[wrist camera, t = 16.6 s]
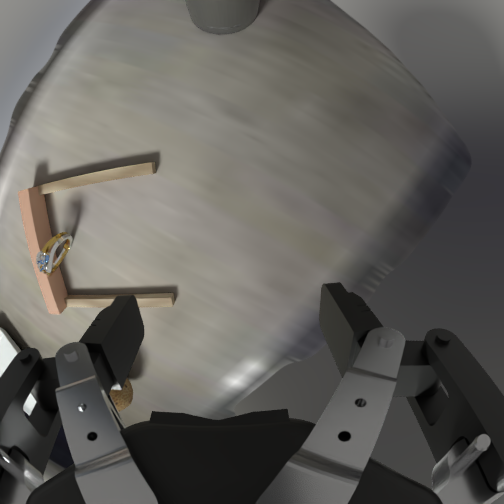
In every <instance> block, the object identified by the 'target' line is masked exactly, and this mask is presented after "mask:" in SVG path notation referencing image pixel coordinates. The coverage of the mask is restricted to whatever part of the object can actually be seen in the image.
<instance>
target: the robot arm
mask: <svg viewBox="0 0 504 504" xmlns="http://www.w3.org/2000/svg"><path fill="white" fill-rule="evenodd" d="M185 2H186V5H187V8H188V10H189V13H190V16H191V19H192V21H193V22H194V24H195V25H196V26H197V27H198V28H200V29H202V30H203V31H206V32H209V33H213V34H230V33H235V32H238V31H240V30H242V29H245V28H246V27H248V26H249V25H250V24H251V23H252V22H253V21H254V20H255V18H256V16H257V13H258V8H259V3H260V0H185ZM319 321H320V327H321V330H322V332H323V335H324V337H325V339H326V341H327V344H328V346H329V348H330V351H331V353H332V355H333V358H334V360H335V362H336V365H337V367H338V369H339V372H340V374H341V376H342V380H341V382H340V384H339V386H338V388H337V390H336V392H335V394H334V395H333V397H332V399H331V401H330V402H329V404H328V406H327V407H326V409H325V411H324V412H323V414H322V416H321V417H320V419H319V421H318V422H317V424H314V423H312V422H308V421H305V420H300V419H294V418H289V415H288V410H287V409H281V410H271V411H260V412H251V413H247V414H243V415H239V416H235V417H231V418H227V419H222V420H212V419H207V418H202V417H198V416H193V415H189V414H185V413H171V412H155V411H152V414H151V418H150V421H144V422H140V423H137V424H134V425H131V426H129V427H127V428H126V426H125V424H124V422H123V420H122V418H121V416H120V414H119V412H118V410H117V408H116V406H115V404H114V402H113V399H112V397H111V396H110V394H109V393H110V391H111V389H115V390H122V389H123V386H124V384H125V381H126V379H127V376H128V374H129V371H130V369H131V367H132V364H133V362H134V359H135V357H136V355H137V352H138V350H139V347H140V345H141V343H142V340H143V338H144V325H143V321H142V318H141V314H140V310H139V307H138V303H137V299H136V297H135V296H134V295H118V296H117V297H116V298H115V299H114V301H113V302H112V303H111V305H110V306H108V307H106V308H105V309H103V310H102V311H101V312H100V313H99V314H98V315H97V317H96V318H95V320H94V321H93V322H92V324H91V326H89V328H88V329H87V331H86V332H85V334H84V335H83V336H82V338H81V339H80V341H79V342H73V343H69V344H66V345H64V346H63V347H61V348H60V349H59V350H58V351H57V353H56V356H55V357H52V358H44V359H43V358H42V357H41V355H40V353H39V351H38V350H37V349H35V348H27V349H24V350H22V351H20V352H19V353H18V354H17V355H16V356H15V357H14V359H13V360H12V361H11V363H10V364H9V365H8V367H7V368H6V370H5V371H4V373H3V374H2V376H1V377H0V504H490V503H492V502H493V501H495V500H496V499H497V498H499V497H500V496H502V495H503V494H504V396H503V395H502V393H501V392H500V390H499V389H498V387H497V386H496V385H495V384H494V382H493V381H492V379H491V378H490V377H489V375H488V374H487V373H486V372H485V370H484V369H483V368H482V367H481V365H480V364H479V363H478V362H477V360H476V359H475V358H474V357H473V356H472V354H471V353H470V352H469V351H468V349H467V348H466V347H465V346H464V345H463V343H462V342H461V341H460V340H459V339H458V337H457V336H456V335H454V334H453V333H452V332H450V331H448V330H445V329H432V330H430V331H428V332H427V334H426V336H425V339H424V341H405V338H404V336H403V335H402V334H401V333H400V332H398V331H397V330H394V329H391V328H386V327H383V326H382V324H381V323H380V322H379V320H378V319H377V317H376V316H375V315H374V314H373V312H372V311H371V310H370V308H369V307H368V306H366V303H365V302H364V300H363V299H362V298H361V297H359V296H358V295H356V294H354V293H353V292H350V293H348V292H347V291H346V289H345V288H344V287H343V285H342V284H341V283H340V282H338V283H328V284H323V285H322V288H321V301H320V314H319ZM441 384H443V385H444V387H445V388H446V390H447V392H448V396H449V398H448V397H447V395H446V393H445V392H444V390H443V389H442V387H441ZM30 393H31V394H32V396H33V397H34V399H35V400H36V404H35V406H34V408H33V410H32V412H31V414H30V416H29V418H28V420H27V418H26V417H25V415H24V412H23V406H24V403H25V402H26V400H27V398H28V396H29V394H30ZM392 397H406V398H407V400H408V402H409V404H410V406H411V408H412V410H413V412H414V414H415V416H416V418H417V420H418V423H419V425H420V427H421V429H422V431H423V433H424V436H425V438H426V440H427V442H428V444H429V447H430V449H431V451H432V454H433V456H434V458H435V461H436V463H437V464H436V466H435V467H434V469H433V472H432V482H433V483H432V488H433V490H431V489H430V488H428V487H426V486H424V485H422V484H420V483H418V482H416V481H414V480H412V479H410V478H408V477H406V476H404V475H402V474H400V473H398V472H396V471H395V470H393V469H391V468H389V467H387V466H385V465H384V464H382V463H380V462H378V461H376V460H375V459H373V458H371V457H370V455H371V453H372V450H373V448H374V445H375V443H376V441H377V438H378V435H379V433H380V430H381V428H382V425H383V422H384V419H385V417H386V413H387V411H388V408H389V405H390V402H391V398H392ZM62 423H63V427H64V431H65V435H66V438H67V441H68V445H69V448H70V451H71V454H72V457H73V460H74V464H73V465H71V466H70V467H68V468H67V469H65V470H63V471H62V472H60V473H59V474H57V475H56V476H54V477H53V478H51V479H49V480H48V481H46V482H45V483H44V478H43V474H44V471H45V468H46V465H47V462H48V459H49V456H50V453H51V451H52V448H53V445H54V442H55V440H56V437H57V434H58V432H59V429H60V427H61V424H62Z"/></svg>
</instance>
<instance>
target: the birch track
mask: <svg viewBox="0 0 504 504" xmlns="http://www.w3.org/2000/svg"><path fill="white" fill-rule="evenodd" d="M154 173H156V168H155V162H150V163H143V164H137V165H131V166H125V167H119V168H114V169H108V170H103V171H98V172H93V173H89V174H84V175H79V176H75V177H71V178H67V179H62V180H58V181H54V182H51V183H47V184H43V185H39V186H38V192H39V195H43V194H47V193H51V192H56V191H60V190H64V189H69V188H74V187H78V186H83V185H88V184H93V183H99V182H104V181H110V180H115V179H121V178H128V177H134V176H141V175H148V174H154ZM118 295H134V296H135V297H136V299H137V303H138V307H173V305H174V303H175V300H174V295H173V293H155V294H118ZM118 295H68V296H67V297H66V298H65V299H64V300H65V303H66V306H67V307H105V308H106V307H108V306H110V305H111V303H112V302H113V301H114V299H115V298H116V297H117V296H118Z"/></svg>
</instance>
